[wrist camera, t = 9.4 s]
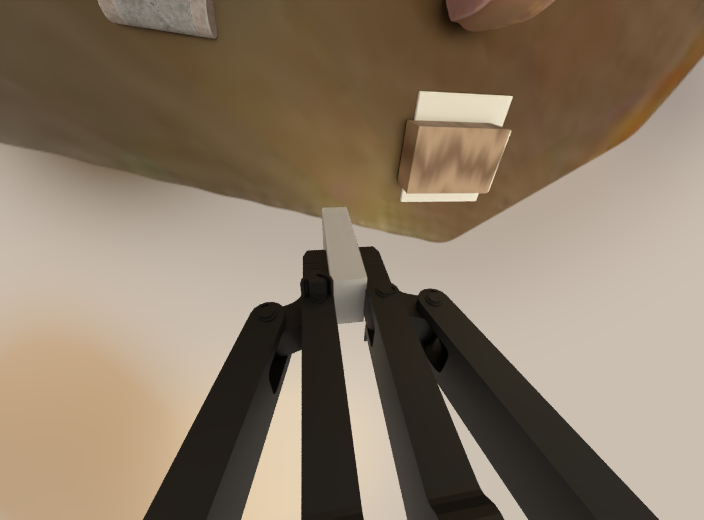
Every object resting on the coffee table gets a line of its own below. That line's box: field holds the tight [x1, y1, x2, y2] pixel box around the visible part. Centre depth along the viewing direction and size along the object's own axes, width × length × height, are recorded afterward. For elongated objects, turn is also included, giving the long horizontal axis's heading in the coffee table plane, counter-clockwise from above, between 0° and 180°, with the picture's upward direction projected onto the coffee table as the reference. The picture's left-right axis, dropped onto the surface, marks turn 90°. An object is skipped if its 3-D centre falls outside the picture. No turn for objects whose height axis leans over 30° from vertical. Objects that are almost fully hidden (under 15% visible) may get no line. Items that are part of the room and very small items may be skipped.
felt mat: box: [400, 91, 513, 202], centre depth 41 cm, size 16×14×1 cm
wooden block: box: [397, 120, 511, 194], centre depth 39 cm, size 9×5×13 cm
